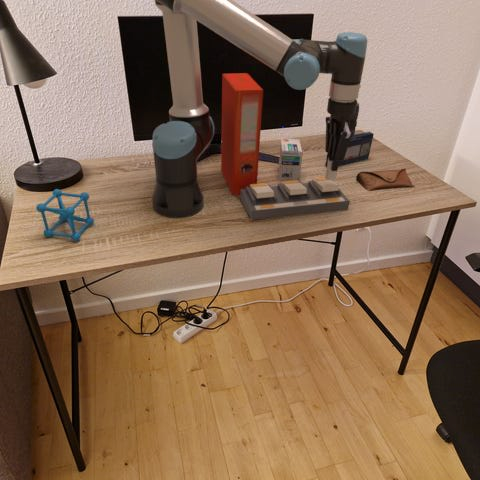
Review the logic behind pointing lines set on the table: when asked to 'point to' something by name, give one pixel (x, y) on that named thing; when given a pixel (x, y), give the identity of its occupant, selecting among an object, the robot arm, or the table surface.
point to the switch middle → (294, 187)
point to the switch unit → (292, 202)
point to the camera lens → (354, 120)
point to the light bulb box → (290, 159)
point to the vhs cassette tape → (357, 149)
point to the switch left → (261, 190)
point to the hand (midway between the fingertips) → (330, 178)
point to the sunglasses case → (384, 179)
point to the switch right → (325, 184)
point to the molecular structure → (65, 214)
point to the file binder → (240, 130)
